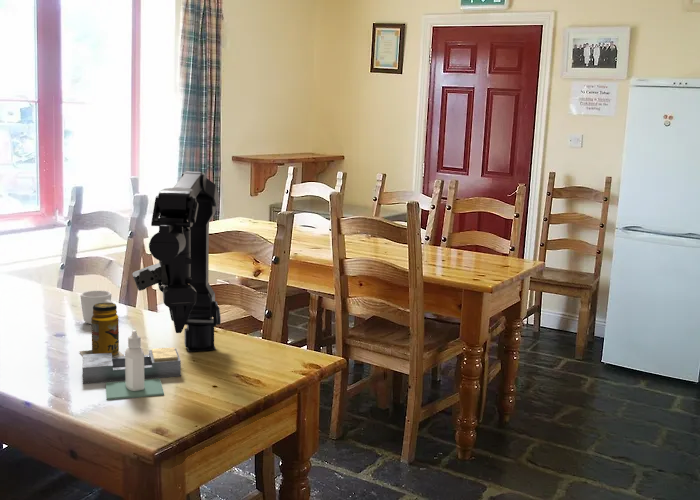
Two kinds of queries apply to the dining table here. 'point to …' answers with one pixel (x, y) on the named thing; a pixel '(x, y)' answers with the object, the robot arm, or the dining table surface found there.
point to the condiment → (104, 330)
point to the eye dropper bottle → (134, 363)
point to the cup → (93, 302)
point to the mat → (120, 391)
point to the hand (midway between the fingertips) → (176, 326)
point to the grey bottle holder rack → (113, 368)
